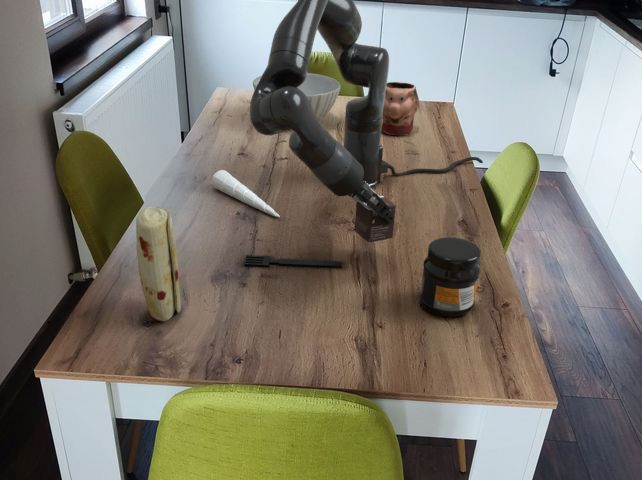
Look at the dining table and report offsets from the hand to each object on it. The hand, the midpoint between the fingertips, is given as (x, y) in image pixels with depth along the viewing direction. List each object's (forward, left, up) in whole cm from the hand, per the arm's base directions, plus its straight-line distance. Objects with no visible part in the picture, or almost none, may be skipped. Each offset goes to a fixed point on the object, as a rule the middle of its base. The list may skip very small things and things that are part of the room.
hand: (382, 214), depth 144 cm
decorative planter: (-51, -70, -10) cm, 87 cm away
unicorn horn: (+14, -38, -10) cm, 41 cm away
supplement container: (-1, +22, -10) cm, 24 cm away
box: (+2, 0, -5) cm, 5 cm away
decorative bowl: (-25, -88, -10) cm, 92 cm away
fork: (+18, -5, -10) cm, 21 cm away
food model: (+48, +2, -10) cm, 49 cm away
